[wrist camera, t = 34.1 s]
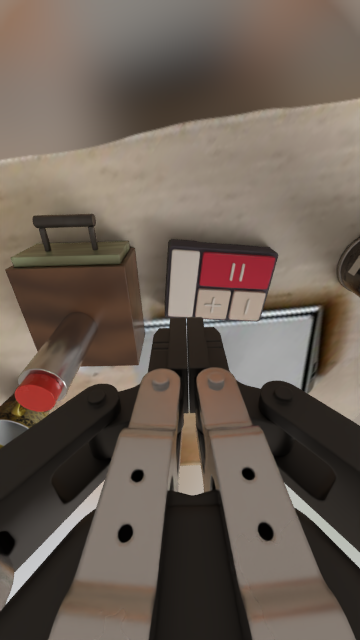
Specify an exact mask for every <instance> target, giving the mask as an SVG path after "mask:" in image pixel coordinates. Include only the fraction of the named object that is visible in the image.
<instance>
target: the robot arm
mask: <svg viewBox="0 0 360 640" xmlns="http://www.w3.org/2000/svg"><path fill="white" fill-rule="evenodd" d="M337 275H338V279H339V281H340V283H341V284H342V285H343V286H344V287H345V288H346V289H348V290H350V291H352V292H353V293H355V294H356V295H358V296H359V297H360V237H359V238H358V239H356V240H355V241H354V242H353V243H352V244H351V245H349V247H348V248H347V249H346V250H345V251H344V253H343V255H342V256H341V258H340V261H339V263H338V268H337ZM187 351H188V363H187ZM188 376H189V399H190V413H195V414H196V435H197V442H198V449H199V456H200V462H201V469H202V475H203V484H204V493H202V494H198V495H194V496H191V495H187V494H183V493H179V492H178V485H179V469H180V456H181V442H182V428H183V424H184V413H188ZM104 480H105V482H104V485H103V488H102V491H101V495H100V498H99V501H98V504H97V507H96V509H95V510H93V511H92V512H90V513H89V514H88V515H87V516H85V517H84V518H83V519H82V520H81V521H80V522H79V523H78V524H77V525H76V526H75V527H74V528H73V529H72V530H71V531H70V532H69V533H68V535H67V536H66V537H65V538H64V539H63V540H62V541H61V542H60V544H59V545H58V546H57V547H56V548H55V549H54V550H53V552H52V553H51V554H50V555H49V556H48V557H47V558H46V560H45V561H44V562H43V563H42V564H41V565H40V566H39V567H38V569H37V570H36V571H35V572H34V573H33V574H32V576H31V577H30V578H29V579H28V580H27V581H26V582H25V583H24V585H23V586H22V587H21V588H20V589H19V590H18V592H17V593H16V594H15V595H14V596H13V597H12V598H11V599H10V601H9V602H8V603H7V604H6V601H7V598H8V596H9V594H10V591H11V588H12V585H13V579H14V572H15V571H16V570H17V569H18V568H19V567H20V566H21V565H22V564H23V563H24V562H25V561H26V560H27V559H28V558H29V557H30V556H31V555H32V554H33V553H34V552H35V551H36V550H37V549H38V547H40V546H41V545H42V543H43V542H44V541H45V540H46V539H47V538H48V537H49V536H50V535H51V534H52V533H53V532H54V531H55V530H56V529H57V528H58V527H59V526H60V525H61V524H62V523H63V522H64V520H66V519H67V518H68V517H69V516H70V515H71V514H72V512H74V511H75V509H76V508H77V507H78V506H79V505H80V504H81V503H82V502H83V501H84V500H85V499H86V498H87V497H88V496H89V495H90V494H91V493H92V492H93V491H94V490H95V489H96V488H97V487H98V486H99V485H100V484H101V483H102V482H103V481H104ZM284 483H285V484H286V485H287V486H288V487H290V488H291V489H292V490H293V491H294V492H295V493H296V494H297V495H298V496H299V497H300V498H302V499H303V500H304V501H305V502H306V503H307V504H308V505H309V506H310V507H311V508H312V509H313V510H315V511H316V512H317V513H318V514H319V515H320V516H321V517H322V518H323V519H324V520H326V522H328V523H329V524H330V525H331V526H332V527H333V528H334V529H335V530H336V531H337V532H338V533H339V534H341V535H342V536H343V537H344V538H345V539H346V540H347V541H348V542H349V543H350V544H352V545H353V546H354V547H355V548H356V549H357V550H358V551H359V552H360V426H359V425H357V424H356V423H354V422H353V421H351V420H350V419H348V418H346V417H345V416H343V415H341V414H340V413H338V412H336V411H335V410H333V409H332V408H330V407H328V406H327V405H325V404H323V403H322V402H320V401H318V400H317V399H315V398H314V397H312V396H310V395H309V394H307V393H305V392H304V391H302V390H300V389H299V388H297V387H296V386H294V385H292V384H290V383H287V382H284V381H270V382H267V383H266V384H264V385H263V386H262V388H261V389H259V388H255V387H251V386H247V385H244V384H242V383H240V382H238V381H237V380H236V379H235V377H234V376H233V374H231V373H230V371H229V367H228V363H227V359H226V355H225V351H224V348H223V343H222V339H221V335H220V333H219V332H218V331H217V330H216V329H215V328H214V327H204V324H203V318H202V317H187V338H186V317H181V318H170V328H159V329H158V331H157V332H156V333H155V334H154V337H153V344H152V350H151V356H150V363H149V369H148V373H147V374H146V375H145V376H144V377H143V379H142V381H141V383H140V384H139V385H137V386H136V387H133V388H130V389H127V390H124V391H120V392H118V391H117V389H116V388H115V387H114V386H112V385H109V384H97V385H93V386H91V387H88V388H87V389H85V390H84V391H82V392H81V393H79V394H78V395H76V396H75V397H74V398H72V399H71V400H69V401H68V402H66V403H65V404H64V405H62V406H61V407H59V408H58V409H56V410H55V411H53V412H52V413H51V414H49V415H48V416H46V417H45V418H43V419H42V420H40V421H39V422H38V423H36V424H35V425H33V426H32V427H30V428H29V429H28V430H26V431H25V432H23V433H22V434H20V435H19V436H17V437H16V438H15V439H13V440H12V441H10V442H9V443H7V444H6V445H5V446H3V447H2V448H0V640H360V568H359V567H358V566H357V565H356V564H355V563H354V562H353V561H352V560H351V559H350V558H349V557H348V556H347V555H346V554H345V553H344V552H343V551H342V550H341V549H340V548H339V547H338V546H337V545H336V544H335V543H334V542H333V541H332V540H331V539H330V538H329V537H328V536H327V535H326V534H325V533H324V532H323V531H322V530H321V529H320V528H319V527H318V526H317V525H316V524H315V523H314V522H313V521H312V520H310V519H309V518H308V517H307V516H306V515H304V514H303V513H302V512H300V511H299V510H297V509H296V508H294V507H293V504H292V501H291V499H290V497H289V494H288V492H287V489H286V487H285V484H284ZM5 604H6V605H5Z"/></svg>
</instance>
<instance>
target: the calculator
mask: <svg viewBox="0 0 360 640" xmlns="http://www.w3.org/2000/svg"><path fill="white" fill-rule="evenodd" d="M277 258H278V254H277V253H276V252H275V251H274V250H272V249H271V248H270V247H259V246H245V245H231V244H217V243H203V242H197V241H189V240H175V239H171V240H169V242H168V257H167V274H166V291H165V316H166V317H169V318H181V317H186V318H187V317H202V318H203V319H213V320H236V321H259V320H260V318H261V314H262V311H263V307H264V304H265V300H266V297H267V293H268V290H269V286H270V283H271V279H272V276H273V272H274V269H275V265H276V262H277Z"/></svg>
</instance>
